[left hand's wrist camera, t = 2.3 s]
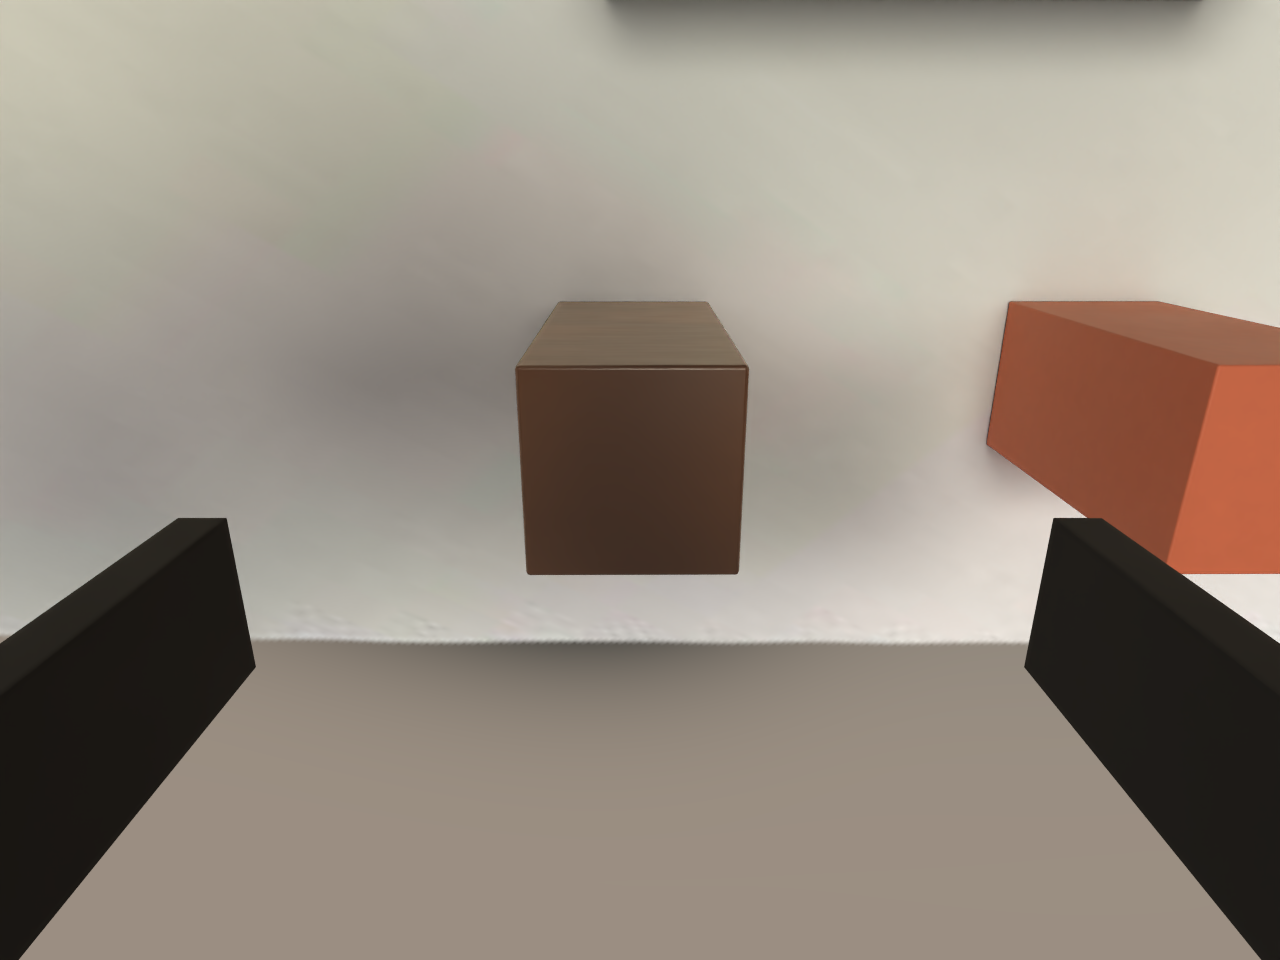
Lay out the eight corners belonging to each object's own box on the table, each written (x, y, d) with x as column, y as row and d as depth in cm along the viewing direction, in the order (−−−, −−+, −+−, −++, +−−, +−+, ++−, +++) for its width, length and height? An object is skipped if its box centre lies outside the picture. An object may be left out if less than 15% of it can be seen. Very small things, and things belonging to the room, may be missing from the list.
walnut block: (563, 445, 28) (526, 576, 18) (557, 301, 26) (514, 365, 17) (704, 444, 28) (738, 575, 18) (708, 301, 26) (749, 365, 17)
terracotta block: (985, 444, 28) (1164, 574, 18) (1008, 301, 26) (1218, 365, 17) (1126, 444, 28) (1375, 574, 18) (1158, 301, 26) (1451, 365, 17)
